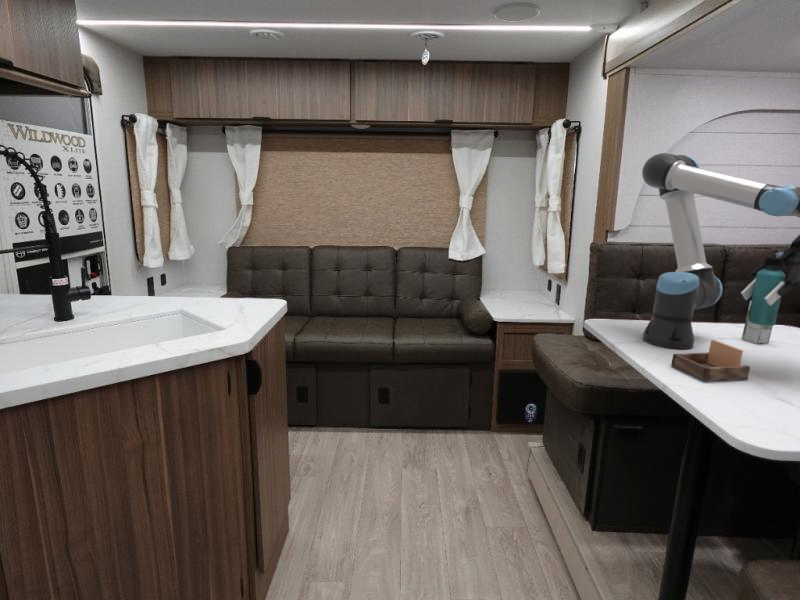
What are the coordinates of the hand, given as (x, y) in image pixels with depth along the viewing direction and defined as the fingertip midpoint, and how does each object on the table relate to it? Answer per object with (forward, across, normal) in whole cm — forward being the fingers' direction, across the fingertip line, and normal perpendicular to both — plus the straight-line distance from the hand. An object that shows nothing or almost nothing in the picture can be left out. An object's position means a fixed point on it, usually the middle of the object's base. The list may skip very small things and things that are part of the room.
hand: (755, 299), depth 134 cm
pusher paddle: (+19, 0, -10) cm, 21 cm away
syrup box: (-8, +24, -39) cm, 46 cm away
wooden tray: (+23, 0, -7) cm, 24 cm away
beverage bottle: (+4, 0, -9) cm, 9 cm away
